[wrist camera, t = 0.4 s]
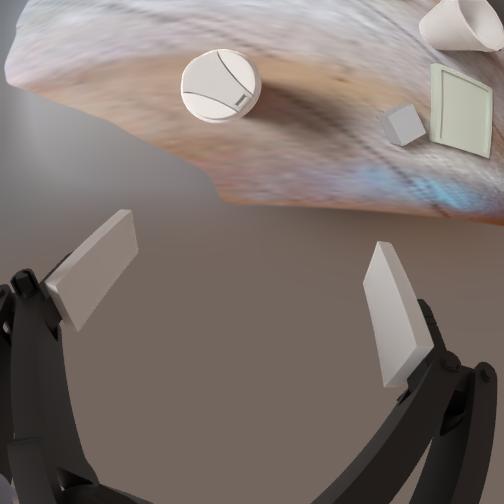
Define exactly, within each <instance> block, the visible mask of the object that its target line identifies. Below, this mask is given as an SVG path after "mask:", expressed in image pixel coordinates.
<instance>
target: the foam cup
mask: <svg viewBox="0 0 504 504" xmlns="http://www.w3.org/2000/svg"><path fill="white" fill-rule="evenodd" d="M419 28H420V32H421V34H422V36H423V38H424V39H425V40H426V42H427V43H428V44H429V45H430V46H432V47H433V48H435V49H437V50H445V51H447V50H477V51H484V52H492V51H498V50H500V49H502V48H503V47H504V29H503V26H502V23H501V21H500V19H499V17H498V15H497V13H496V12H495V11H494V9H493V8H492V7H491V6H490V4H489V3H488V2H487V1H486V0H442V1H440V2H439V3H438V4H437V5H436V6H435V7H434V8H433V9H432V10H431V11H429V12H428V13H427V14H426V15H425V16H424V17H423V18H422V19H421V21H420V23H419Z"/></svg>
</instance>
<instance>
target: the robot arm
mask: <svg viewBox="0 0 504 504" xmlns="http://www.w3.org/2000/svg"><path fill="white" fill-rule="evenodd" d="M138 252H139V251H138V246H137V241H136V235H135V229H134V223H133V216H132V211H131V210H123V209H121V210H119V211H118V212H117V213H116V214H114V215H113V216H112V217H111V218H110V219H109V220H108V221H106V222H105V223H104V224H103V225H102V226H101V227H100V228H98V229H97V230H96V231H95V232H94V233H93V234H92V235H91V236H90V237H89V238H88V239H86V240H85V241H84V242H83V243H82V244H81V245H80V246H79V247H78V248H77V249H76V250H75V251H73V252H71V253H70V254H68V255H66V256H65V257H64V259H62V260H61V261H60V263H58V264H57V266H56V267H55V268H54V269H53V270H52V271H51V272H50V273H49V274H48V275H47V276H46V277H45V278H44V279H43V280H42V281H41V282H40V283H39V284H38V281H37V279H36V277H35V275H34V272H33V271H32V270H31V269H23V270H21V271H19V272H17V273H16V274H15V275H14V276H13V277H12V279H11V281H10V282H11V284H12V286H13V288H14V290H15V292H16V293H12V291H11V289H10V287H9V286H8V285H7V284H3V285H0V504H13V501H12V500H17V499H19V503H20V504H153V503H151V502H149V501H146V500H144V499H141V498H139V497H136V496H133V495H131V494H129V493H126V492H123V491H119V490H117V489H113V488H110V487H108V486H105V485H102V484H100V483H99V481H98V478H97V476H96V474H95V472H94V470H93V468H92V467H91V466H90V464H89V463H88V462H87V460H86V458H85V456H84V453H83V450H82V446H81V443H80V440H79V437H78V432H77V428H76V424H75V421H74V417H73V412H72V407H71V402H70V397H69V392H68V386H67V379H66V373H65V366H64V357H63V347H62V334H61V328H60V325H59V323H60V321H61V320H63V322H64V324H65V325H66V327H67V328H68V329H71V330H73V331H76V332H79V331H80V329H81V328H82V326H83V325H84V323H85V322H86V321H87V319H88V318H89V316H90V315H91V313H92V312H93V311H94V309H95V307H96V306H97V305H98V303H99V302H100V301H101V299H102V298H103V297H104V295H105V294H106V293H107V291H108V290H109V289H110V287H111V286H112V285H113V284H114V282H115V281H116V280H117V278H118V277H119V275H120V274H121V273H122V272H123V271H124V269H125V268H126V267H127V266H128V264H129V263H130V262H131V261H132V259H133V258H134V257H135V256H136V254H137V253H138ZM363 285H364V289H365V293H366V297H367V301H368V306H369V310H370V314H371V319H372V323H373V328H374V333H375V338H376V343H377V347H378V353H379V359H380V365H381V371H382V377H383V383H384V388H397V387H401V386H402V385H403V383H404V382H405V381H406V380H407V382H408V389H407V390H406V391H405V392H404V393H403V394H402V395H401V396H400V397H399V398H398V399H397V401H398V403H397V404H396V406H395V407H394V409H393V411H392V412H391V413H390V415H389V416H388V417H387V419H386V420H385V422H384V423H383V424H382V426H381V427H380V429H379V430H378V431H377V432H376V434H375V435H374V436H373V438H372V439H371V440H370V441H369V443H368V444H367V445H366V446H365V448H364V449H363V450H362V451H361V452H360V454H359V455H358V456H357V457H356V458H355V459H354V460H353V462H352V463H351V464H350V465H349V466H348V467H347V468H346V470H344V472H343V473H342V474H341V475H340V476H339V477H338V478H337V479H336V480H335V481H334V482H333V483H332V484H331V485H330V486H329V487H328V488H327V489H326V490H325V491H324V492H323V493H322V494H321V495H320V496H318V497H317V498H316V499H315V500H314V501H313V502H312V503H311V504H389V503H390V502H391V501H392V499H393V498H394V496H395V495H396V494H397V493H398V491H399V490H400V489H401V487H402V486H403V484H404V483H405V482H406V480H407V479H408V477H409V476H410V474H411V473H412V471H413V470H414V468H415V466H416V465H417V463H418V461H419V460H420V458H421V457H422V455H423V453H424V452H425V450H426V448H427V446H428V445H429V443H430V441H431V439H432V437H433V439H432V443H431V446H430V449H429V453H428V456H427V459H426V462H425V465H424V468H423V470H422V473H421V476H420V478H419V481H418V484H417V486H416V488H415V491H414V493H413V496H412V498H411V500H410V502H409V504H479V501H480V498H481V495H482V491H483V488H484V484H485V480H486V476H487V471H488V467H489V462H490V456H491V451H492V445H493V438H494V430H495V420H496V407H497V406H496V405H497V374H496V372H495V370H494V368H493V367H492V366H491V365H490V364H488V363H487V362H480V363H479V364H478V365H477V366H476V367H475V368H474V369H472V368H469V367H465V366H462V365H461V362H460V360H459V359H458V357H457V356H456V355H455V354H454V353H452V352H450V351H447V350H446V347H445V344H444V342H443V339H442V336H441V333H440V331H439V328H438V326H437V325H436V324H437V323H436V321H435V319H434V316H433V313H432V311H431V309H430V307H429V306H428V305H427V304H426V302H425V301H424V300H423V299H416V297H415V294H414V292H413V289H412V287H411V285H410V282H409V280H408V278H407V276H406V274H405V271H404V269H403V267H402V265H401V263H400V261H399V259H398V256H397V255H396V252H395V250H394V248H393V247H392V245H391V243H387V242H381V241H378V242H377V245H376V249H375V251H374V254H373V257H372V260H371V263H370V266H369V269H368V271H367V274H366V276H365V279H364V282H363ZM4 323H5V325H6V326H7V328H8V332H7V333H6V332H5V331H4V329H3V324H4ZM14 433H15V438H14ZM12 477H13V481H14V485H15V488H14V487H12V486H11V481H12ZM60 485H61V486H62V487H63V488H64V489H65V490H64V491H62V490H61V487H60Z"/></svg>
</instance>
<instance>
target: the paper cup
mask: <svg viewBox="0 0 504 504" xmlns="http://www.w3.org/2000/svg"><path fill="white" fill-rule="evenodd" d="M261 87H262V84H261V76H260V73H259V70H258V68H257V67H256V65H255V64H254V62H253V61H252V60H251V59H250V58H248V57H247V56H246V55H244V54H242V53H240V52H237V51H234V50H229V49H218V50H213V51H209V52H207V53H204V54H203V55H201V56H199V57H197V58H195V59H193V60H192V61H191V62H190V63H189V64H188V66H187V67H186V69H185V70H184V72H183V74H182V83H181V94H182V98H183V101H184V103H185V105H186V107H187V108H188V110H189V111H190V112H191V113H192V114H193V115H195V116H196V117H198V118H199V119H201V120H204V121H206V122H211V123H227V122H231V121H234V120H237V119H239V118H241V117H243V116H244V115H245V114H247V113H248V112H249V111H250V110H251V109H252V108H253V107H254V105H255V104H256V102H257V100H258V98H259V96H260V93H261Z"/></svg>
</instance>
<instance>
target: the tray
mask: <svg viewBox="0 0 504 504" xmlns="http://www.w3.org/2000/svg"><path fill="white" fill-rule="evenodd" d="M491 133H492V88H490V87H489V86H487V85H485V84H483V83H481V82H479V81H477V80H475V79H473V78H471V77H469V76H467V75H464V74H462V73H460V72H458V71H455V70H453V69H451V68H448V67H446V66H443V65H441V64H438V63H434V64H431V119H430V135H429V141H433V142H437V143H441V144H444V145H448V146H451V147H455V148H458V149H462V150H465V151H468V152H471V153H474V154H477V155H480V156H483V157H486V158H489V155H490V146H491Z"/></svg>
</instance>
